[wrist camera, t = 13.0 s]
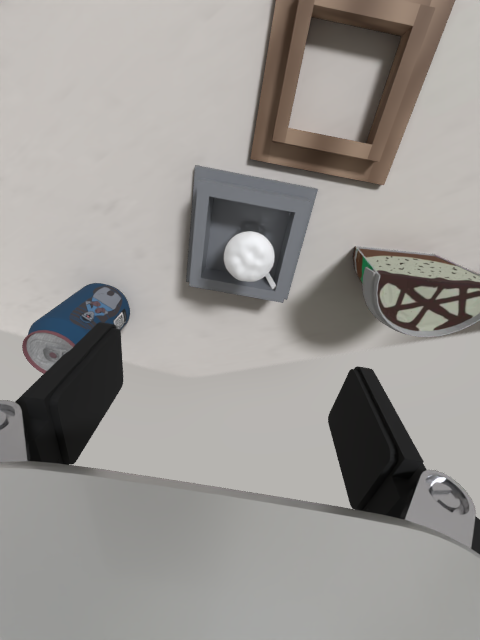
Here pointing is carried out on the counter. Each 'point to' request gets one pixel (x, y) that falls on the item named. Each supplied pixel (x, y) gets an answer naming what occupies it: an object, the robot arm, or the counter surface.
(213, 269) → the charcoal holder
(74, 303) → the soda can
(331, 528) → the robot arm
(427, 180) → the counter surface
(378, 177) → the walnut dock
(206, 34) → the counter surface
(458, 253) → the counter surface
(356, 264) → the food container
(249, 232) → the milkshake
